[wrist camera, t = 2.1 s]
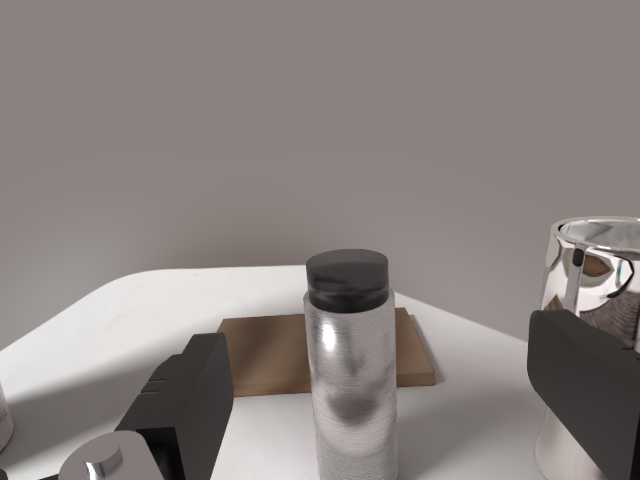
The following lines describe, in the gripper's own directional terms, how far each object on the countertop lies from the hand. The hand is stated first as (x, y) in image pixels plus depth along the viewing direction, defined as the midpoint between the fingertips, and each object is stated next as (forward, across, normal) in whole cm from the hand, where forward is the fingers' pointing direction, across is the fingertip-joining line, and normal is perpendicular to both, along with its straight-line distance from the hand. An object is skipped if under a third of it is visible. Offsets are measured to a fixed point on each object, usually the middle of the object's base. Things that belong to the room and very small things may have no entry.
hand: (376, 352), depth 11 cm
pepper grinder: (+12, 0, +15) cm, 19 cm away
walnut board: (+26, +3, +15) cm, 30 cm away
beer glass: (+10, -14, +16) cm, 23 cm away
